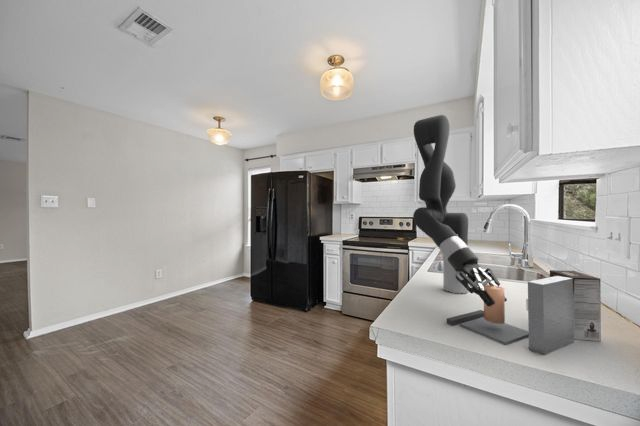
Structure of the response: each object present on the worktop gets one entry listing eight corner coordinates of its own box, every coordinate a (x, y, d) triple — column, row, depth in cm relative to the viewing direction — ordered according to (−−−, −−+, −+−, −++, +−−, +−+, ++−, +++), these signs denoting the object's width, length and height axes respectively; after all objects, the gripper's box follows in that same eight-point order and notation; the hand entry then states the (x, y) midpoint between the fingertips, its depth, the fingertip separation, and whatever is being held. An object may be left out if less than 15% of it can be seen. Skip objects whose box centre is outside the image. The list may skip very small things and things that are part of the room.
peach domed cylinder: (490, 315, 73) (490, 284, 73) (508, 321, 69) (508, 288, 69) (479, 318, 71) (479, 286, 71) (497, 324, 67) (497, 290, 67)
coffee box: (548, 324, 73) (547, 269, 74) (574, 326, 72) (573, 270, 72) (573, 339, 64) (572, 276, 65) (603, 342, 63) (602, 278, 63)
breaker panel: (552, 335, 67) (551, 274, 67) (573, 342, 63) (572, 278, 63) (523, 346, 61) (521, 280, 61) (544, 355, 57) (543, 284, 57)
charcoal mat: (486, 318, 78) (486, 316, 78) (532, 335, 67) (532, 332, 67) (460, 325, 73) (460, 323, 73) (505, 344, 62) (505, 342, 62)
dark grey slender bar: (480, 315, 81) (480, 309, 81) (486, 317, 80) (486, 311, 80) (446, 324, 74) (446, 318, 74) (452, 327, 73) (452, 320, 73)
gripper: (449, 247, 75) (491, 300, 63) (480, 245, 81) (523, 293, 69) (434, 262, 79) (471, 314, 68) (464, 259, 85) (503, 306, 74)
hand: (497, 303), depth 69 cm, fingers closed on peach domed cylinder, 4 cm apart
